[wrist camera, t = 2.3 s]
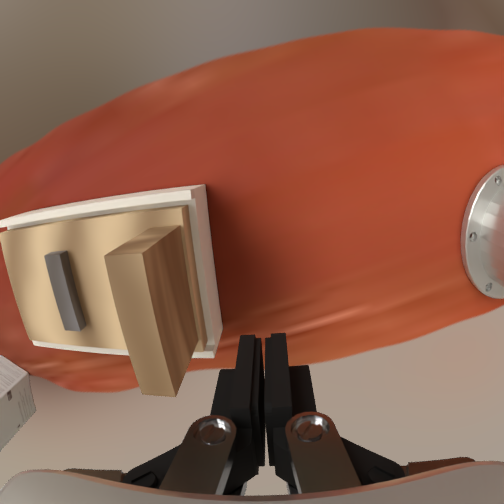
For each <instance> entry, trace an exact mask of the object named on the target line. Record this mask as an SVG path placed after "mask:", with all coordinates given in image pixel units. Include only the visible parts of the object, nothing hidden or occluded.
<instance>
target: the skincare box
mask: <svg viewBox="0 0 504 504" xmlns="http://www.w3.org/2000/svg"><path fill="white" fill-rule="evenodd" d="M35 411H36V408H35V404H34V401H33V396H32V392H31V387H30V380H29V374H28V372H26V371H25V370H23V369H22V368H20V367H18V366H17V365H15V364H14V363H12V362H11V361H9V360H8V359H6V358H5V357H3V356H2V355H0V451H1V450H2V449H3V448H4V446H5V445H6V444H7V443H8V442H9V441H10V440H11V438H12V437H13V436H14V435H15V434H16V433H17V432H18V431H19V429H20V428H21V427H22V426H23V425H24V424H25V423H26V422H27V421H28V419H29V418H30V417H31V416H32V415H33V414H34V413H35Z"/></svg>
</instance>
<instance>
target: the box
mask: <svg viewBox="0 0 504 504" xmlns="http://www.w3.org/2000/svg"><path fill="white" fill-rule="evenodd" d="M179 205H188V207H189V216H190V224H191V232H192V240H193V247H194V254H195V262H196V269H197V276H198V282H199V289H200V296H201V302H202V308H203V314H204V321H205V326H206V332H207V338H208V341H207V344H206V347H205V350H204V352H194V353H193V355H192V358H214V357H215V354H216V351H217V347H218V344H219V341H220V337H221V334H222V330H223V325H222V318H221V311H220V303H219V296H218V288H217V281H216V273H215V265H214V257H213V249H212V240H211V232H210V223H209V214H208V205H207V195H206V186H205V184H203V185H193V186H185V187H176V188H168V189H160V190H152V191H145V192H138V193H131V194H124V195H117V196H111V197H104V198H98V199H92V200H86V201H80V202H75V203H69V204H64V205H58V206H53V207H48V208H43V209H38V210H33V211H29V212H25V213H22V214H19V215H16V216H12V217H9V218H6V219H3V220H0V228H1V227H6V226H7V229H8V230H10V229H14V228H20V227H26V226H31V225H37V224H43V223H49V222H56V221H62V220H69V219H75V218H82V217H89V216H96V215H104V214H111V213H119V212H127V211H135V210H143V209H152V208H160V207H170V206H179ZM32 341H33V340H32ZM33 344H34V345H36V346H43V347H50V348H58V349H66V350H74V351H83V352H93V353H104V354H117V355H129V353H128V350H122V349H108V348H95V347H84V346H74V345H65V344H56V343H48V342H40V341H33Z"/></svg>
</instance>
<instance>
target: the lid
mask: <svg viewBox="0 0 504 504" xmlns="http://www.w3.org/2000/svg"><path fill="white" fill-rule="evenodd" d="M0 241H1V245H2V250H3V254H4V259H5V263H6V267H7V271H8V275H9V278H10V282H11V285H12V289H13V292H14V296H15V299H16V302H17V305H18V308H19V311H20V314H21V317H22V320H23V323H24V326H25V329H26V331H27V334H28V337H29V339H30V340H33V341H40V342H48V343H56V344H65V345H74V346H84V347H95V348H108V349H122V350H128V353H129V356H130V359H131V362H132V366H133V369H134V372H135V375H136V378H137V381H138V383H139V386H140V389H141V392H142V394H145V395H156V396H169V397H176V395H177V393H178V390H179V388H180V385H181V383H182V380H183V378H184V375H185V373H186V370H187V368H188V365H189V363H190V360H191V358H192V355H193V353H194V352H204V350H205V347H206V344H207V341H208V338H207V332H206V326H205V321H204V314H203V308H202V302H201V296H200V289H199V282H198V276H197V269H196V262H195V254H194V247H193V240H192V232H191V224H190V216H189V207H188V205H179V206H170V207H160V208H152V209H143V210H135V211H127V212H119V213H111V214H104V215H96V216H89V217H82V218H75V219H69V220H62V221H56V222H49V223H43V224H37V225H31V226H26V227H20V228H14V229H10V230H7V231H4V232H2V233H0Z"/></svg>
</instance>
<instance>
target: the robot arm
mask: <svg viewBox="0 0 504 504" xmlns="http://www.w3.org/2000/svg"><path fill="white" fill-rule="evenodd" d="M461 254H462V260H463V265H464V268H465V271H466V274H467V276H468V277H469V279H470V281H471V283H472V284H473V285H474V286H475V287H476V288H477V289H478V290H479V291H481V292H482V293H483V294H485V295H486V296H489V297H491V298H497V299H503V298H504V165H501V166H498V167H496V168H494V169H492V170H491V171H490V172H489V173H487V174H486V175H485V176H484V177H483V178H482V179H481V181H480V182H479V183H478V185H477V186H476V188H475V190H474V191H473V193H472V195H471V197H470V199H469V202H468V205H467V207H466V210H465V214H464V219H463V223H462V231H461ZM265 427H266V433H267V444H268V454H269V465H270V466H275V473H276V475H277V476H278V477H280V478H281V479H283V480H284V481H286V482H287V490H288V494H289V495H270V496H244V495H245V491H246V488H247V481H248V480H250V479H251V478H252V477H254V476H255V475H258V471H259V466H265ZM0 504H504V462H500V461H475V460H474V459H471V458H468V457H457V458H450V459H442V460H432V461H422V462H408V464H407V465H406V466H400V465H399V464H397V463H396V462H394V461H392V460H389V459H387V458H385V457H382V456H380V455H378V454H376V453H374V452H371V451H369V450H367V449H365V448H363V447H361V446H359V445H356V444H354V443H352V442H350V441H348V440H346V439H344V438H342V437H340V435H339V433H338V431H337V429H336V426H335V424H334V422H333V421H332V419H331V418H330V417H328V416H327V415H325V414H322V413H319V412H317V411H316V405H315V399H314V393H313V388H312V382H311V376H310V370H309V366H308V365H302V366H289V365H288V354H287V343H286V333H275V334H271V338H265V378H264V366H263V355H262V343H261V338H256V337H255V335H241V336H240V341H239V347H238V354H237V361H236V367H235V369H221V370H220V372H219V377H218V381H217V386H216V391H215V395H214V400H213V404H212V410H211V414H210V416H205V417H202V418H200V419H198V420H196V421H195V422H193V424H192V425H191V426H190V427H189V429H188V431H187V433H186V435H185V437H184V439H183V441H182V443H181V445H179V446H177V447H175V448H173V449H171V450H169V451H167V452H166V453H164V454H162V455H160V456H158V457H156V458H154V459H152V460H150V461H148V462H146V463H144V464H142V465H139V466H137V467H135V468H133V469H132V470H130V471H129V472H128V473H123V472H122V470H93V469H76V468H72V469H66V470H63V471H61V470H49V469H44V470H27V471H23V472H20V473H18V474H16V475H15V476H13V477H12V478H11V479H10V480H8V482H7V483H6V484H5V485H4V486H3V487H2V489H1V490H0Z"/></svg>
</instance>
